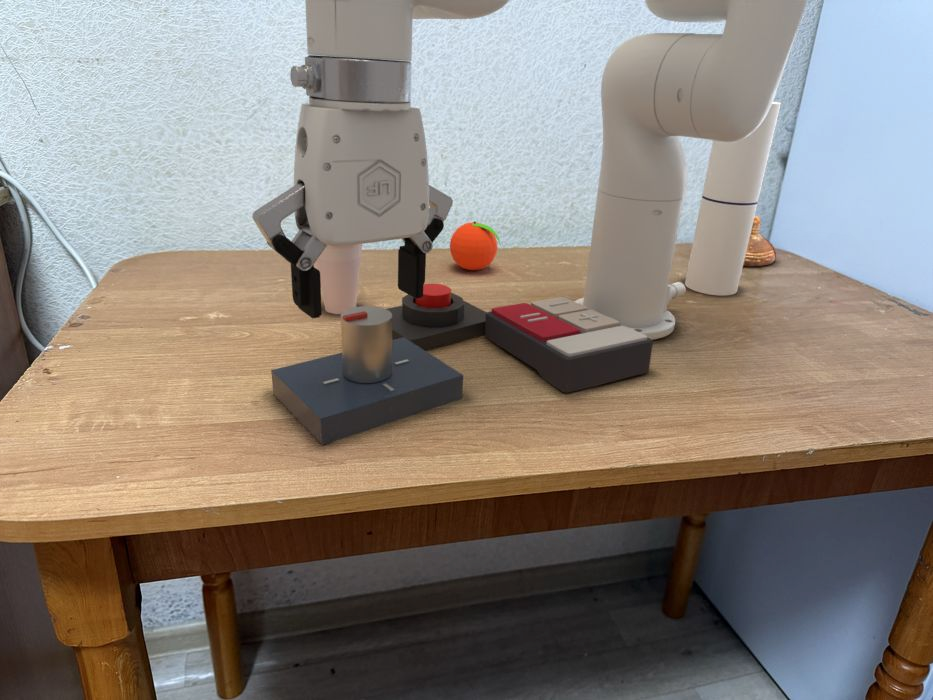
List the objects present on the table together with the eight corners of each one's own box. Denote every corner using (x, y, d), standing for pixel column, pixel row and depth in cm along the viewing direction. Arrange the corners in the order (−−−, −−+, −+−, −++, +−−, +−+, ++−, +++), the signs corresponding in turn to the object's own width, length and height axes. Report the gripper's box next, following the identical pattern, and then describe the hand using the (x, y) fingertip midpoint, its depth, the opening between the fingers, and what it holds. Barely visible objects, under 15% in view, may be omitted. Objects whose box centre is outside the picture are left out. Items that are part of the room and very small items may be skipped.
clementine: (510, 270, 96) (514, 222, 93) (486, 281, 90) (489, 231, 87) (465, 259, 99) (467, 213, 96) (439, 270, 94) (441, 221, 91)
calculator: (563, 292, 76) (656, 333, 64) (561, 327, 78) (650, 372, 66) (484, 305, 71) (568, 352, 59) (483, 342, 73) (564, 394, 61)
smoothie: (356, 321, 75) (352, 200, 69) (304, 315, 76) (296, 195, 70) (374, 302, 81) (372, 189, 75) (326, 297, 82) (320, 185, 76)
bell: (695, 244, 114) (703, 203, 111) (766, 251, 112) (777, 209, 109) (703, 263, 103) (713, 218, 100) (782, 270, 102) (794, 225, 98)
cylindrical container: (682, 290, 91) (720, 100, 80) (686, 276, 97) (722, 98, 86) (736, 298, 88) (782, 104, 78) (737, 283, 94) (779, 101, 84)
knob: (376, 357, 61) (375, 299, 58) (401, 375, 58) (401, 315, 55) (334, 368, 58) (331, 308, 56) (357, 387, 55) (356, 325, 53)
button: (437, 295, 75) (437, 281, 74) (457, 306, 72) (458, 291, 72) (408, 301, 73) (408, 286, 72) (428, 312, 70) (428, 297, 69)
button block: (451, 307, 81) (452, 280, 79) (497, 331, 74) (499, 303, 73) (366, 326, 74) (366, 297, 72) (409, 355, 67) (409, 324, 66)
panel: (404, 359, 66) (404, 335, 65) (462, 399, 59) (463, 373, 58) (273, 394, 59) (270, 368, 57) (322, 445, 51) (320, 416, 50)
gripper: (266, 86, 40) (282, 338, 47) (482, 92, 50) (469, 299, 57) (225, 79, 46) (245, 306, 53) (428, 86, 55) (422, 276, 62)
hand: (362, 302), depth 55 cm, fingers open, 9 cm apart
